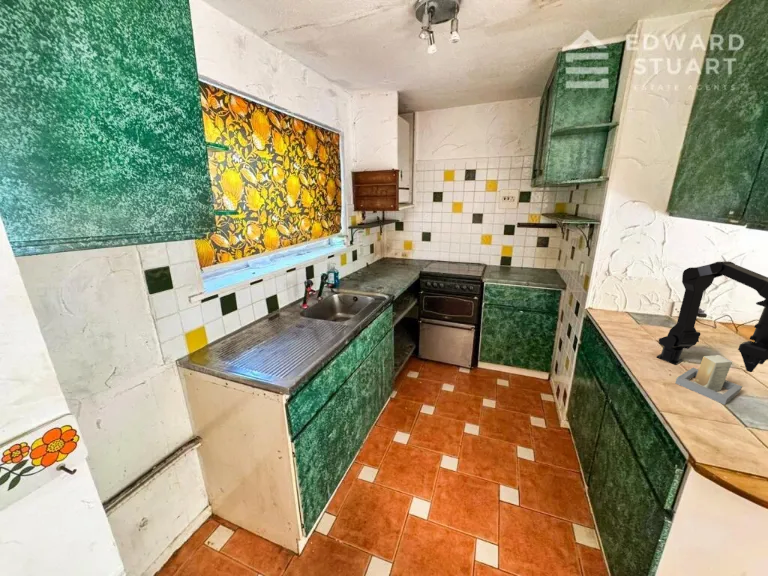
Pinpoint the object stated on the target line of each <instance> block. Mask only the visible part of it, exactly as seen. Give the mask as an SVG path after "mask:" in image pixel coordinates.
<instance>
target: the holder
mask: <svg viewBox="0 0 768 576" xmlns="http://www.w3.org/2000/svg"><path fill="white" fill-rule="evenodd" d="M698 370H699V368H696V367H691V368H690V369H688V370H687V371H685V372H684V373H682V374H681V375H679V376H678V377H677V376H676V377H677V378H676V379H675V384H676V385H679V386H681V387H683V388H685V389H688V390H690V391H692V392H695V393H697V394H698V395H702V396H703V397H706V398H708V399H711V400H712V401H716V402H718V403H720V404H722V405H726V404H727V403H729V402H730V401H731V400H732V399H733V398H734V397H736V396H737V395H738V394H740V392H741V391H742V388H743V386H742V385H740V384H737V383H734V382H732V381H729V380H728V379H727V380H726V379H725V381H724V384H723V386H722V389H726V390H727V391H725V392H724V393H720V392H719V391H713V390H711V389H708V388H706V387H704V386H701V385H699V384H696V383H694V381H691V379H692V378H694V377H695V378H696V375H697V373H698Z"/></svg>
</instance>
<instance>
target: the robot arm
mask: <svg viewBox="0 0 768 576" xmlns="http://www.w3.org/2000/svg"><path fill="white" fill-rule="evenodd" d="M722 276H725V277H726V278H729V279H731V280H733V281H736V282H738V283H740V284H742V285H743V286H744V285H745V286H747V287H749V288H751V289H753V290H754V291H756V292H757V294H758V295H759V296H760V297H761V298H764V300H761V301H757V302H755V304H756V305H757V306H761V307H763V310H762V312H761V315H760V317H759V320H758V321H757V323H756V324H755V325H754V327H753V328H755V330H754V332H753V334H752V335H750V336H749V340H746V341H744V342H742V343H740V344H739V346H738V348H737V350H738V352H739V353H740V355H741V357H742V360H743V364H744V367H745V370H746V372H749V373H752V372H753V371H754V370H755V369H756V368H757V367H758V365H763V364H764V363H765V362H766V361H768V276H765V275H762V274H760V273H757V272H755V271H753V270H750V269H748V268H745V267H743V266H741V265H737V264H736V263H734V262H732V261H715V262H713V263H709V264H706V265H705V264H704V265H701V266H695V267H693V266H692V267H687V268H686V269H684V270H683V272H682V276H681V277H682V278H681V283H682V285H683V287H684V289H685V290H684V294H683V297H682V302H681V305H680V310H679V314H678V318H677V322H676V324H675V325H673V326H672V328H670V329H669V331H668V334H667V335H666V336H663V337H659V338H658V344H660V346H662V350H661V353H660V354H657V355H656V358H658V359H660V360H663V361H665V362H667V363H669V364H672V365H675V366H676V365H678V364H679V363H682V362H683V361H684V359H682V358H681V356H682V353H683V350H684V349H687V350H688V349H691V347H693V346H696V345H697V343H699V342H700V341H699V340H700V339H699V338H700V336H701V332H700V331H697V330H696V327H695V326H696V323H697V322H696V321H697V319H698V315H699V310H700V307H701V303H702V299H703V295H704V292H705V291H706V290H707V289H708V288H709V287H710V286H711V285H712V284H713V282H714V280H715V278H719V277H722Z"/></svg>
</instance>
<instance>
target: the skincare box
mask: <svg viewBox="0 0 768 576" xmlns="http://www.w3.org/2000/svg"><path fill="white" fill-rule="evenodd" d="M732 363H733V361H732V360H730V359H728V358H726V357H724V356H723V355H720V354H719V355H718V354H715V355H705V356H703V357H702V360H701V362H700V365H699V367H698V373H697V375H696V377H695V379H694V381H693V382H694V383H696V384H699V385H701V386H704V387H706V388H708V389H711V390H713V391H716V392H720V391H721V390H722V389H723V387H722V386H723V384H724V381H725V380H726V378H727V376H728V373H729V371H730V368H731V366H732Z"/></svg>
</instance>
